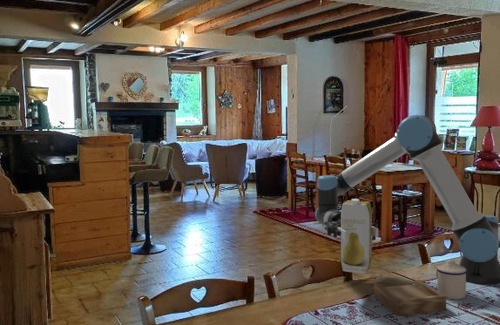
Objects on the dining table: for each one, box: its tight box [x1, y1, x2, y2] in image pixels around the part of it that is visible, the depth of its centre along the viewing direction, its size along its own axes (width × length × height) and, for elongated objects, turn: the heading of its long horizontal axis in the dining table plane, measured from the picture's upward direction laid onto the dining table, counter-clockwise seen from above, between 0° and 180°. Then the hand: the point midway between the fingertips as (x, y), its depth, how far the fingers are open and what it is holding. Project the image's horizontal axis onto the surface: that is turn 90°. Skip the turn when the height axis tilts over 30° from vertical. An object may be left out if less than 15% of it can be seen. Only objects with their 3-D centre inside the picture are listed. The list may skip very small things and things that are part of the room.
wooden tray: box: [373, 279, 447, 317], centre depth 157 cm, size 16×16×4 cm
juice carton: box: [340, 198, 373, 274], centre depth 162 cm, size 9×8×24 cm
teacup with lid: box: [435, 259, 467, 300], centre depth 164 cm, size 12×9×12 cm
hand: (361, 234), depth 158 cm, fingers closed on juice carton, 10 cm apart
